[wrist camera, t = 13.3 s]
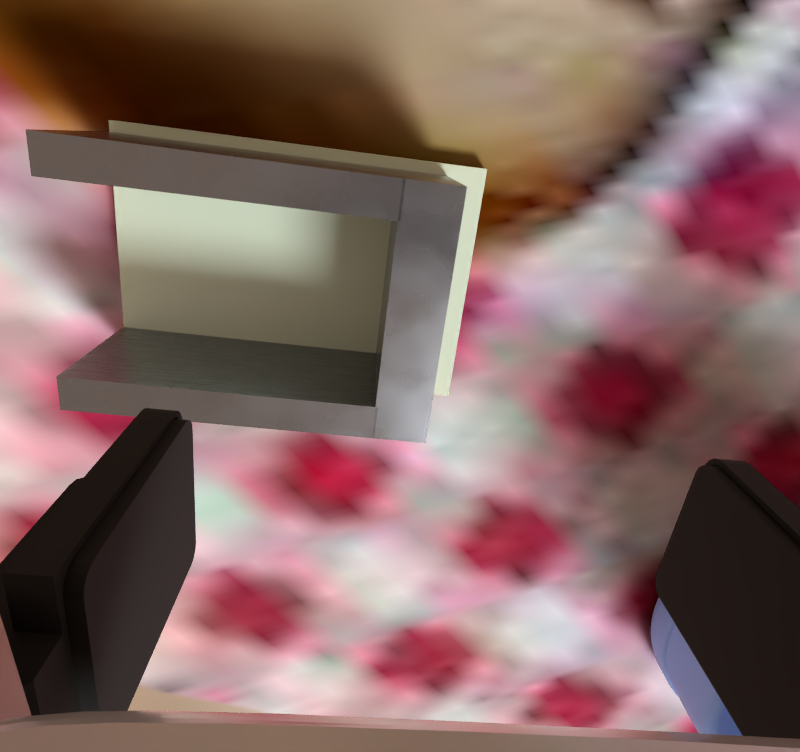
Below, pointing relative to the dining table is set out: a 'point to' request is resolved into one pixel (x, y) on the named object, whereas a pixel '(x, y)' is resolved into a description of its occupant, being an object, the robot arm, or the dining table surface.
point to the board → (271, 259)
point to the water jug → (688, 677)
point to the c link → (265, 361)
